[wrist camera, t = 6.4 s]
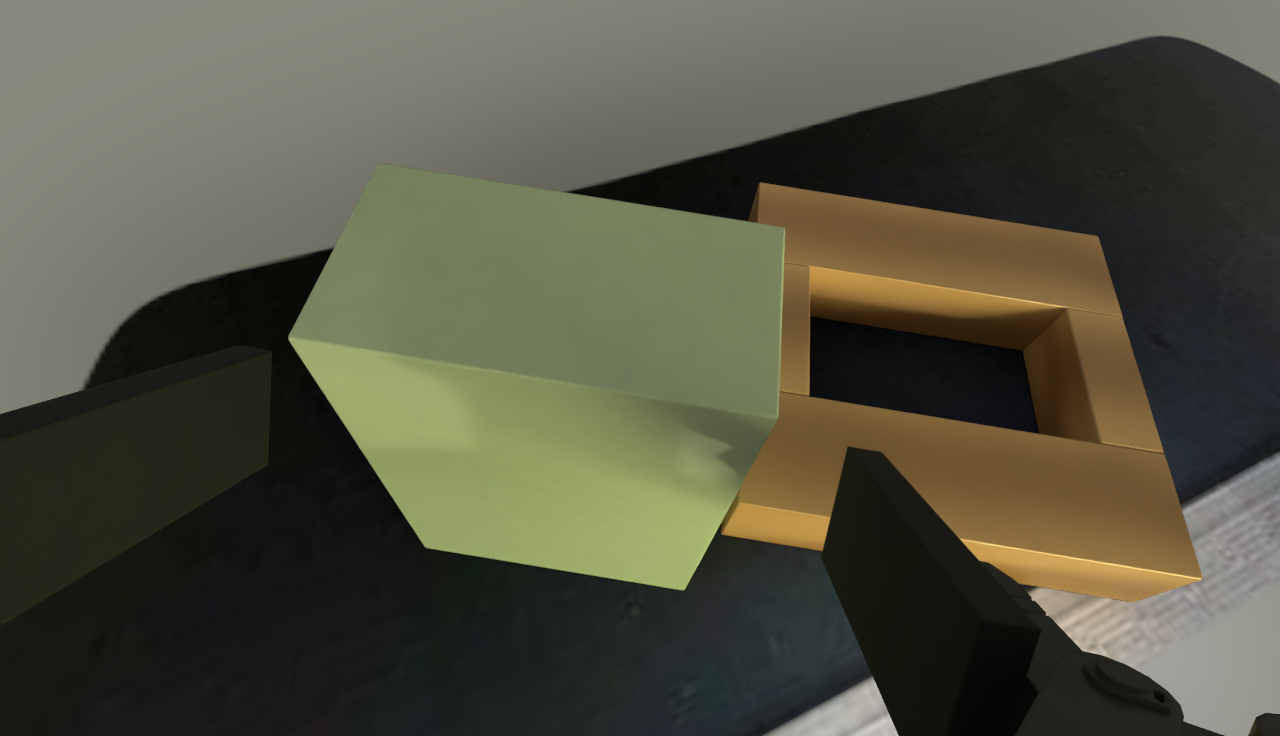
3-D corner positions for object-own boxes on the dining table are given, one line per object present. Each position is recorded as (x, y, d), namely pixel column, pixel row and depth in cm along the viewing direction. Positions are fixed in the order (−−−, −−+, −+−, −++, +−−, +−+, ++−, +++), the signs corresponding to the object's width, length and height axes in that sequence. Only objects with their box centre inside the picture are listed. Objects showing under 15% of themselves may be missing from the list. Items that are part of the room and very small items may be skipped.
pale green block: (684, 591, 21) (779, 418, 11) (424, 548, 22) (285, 338, 11) (697, 463, 24) (786, 226, 14) (463, 425, 24) (377, 160, 14)
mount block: (1133, 602, 22) (1204, 579, 20) (720, 534, 22) (738, 503, 20) (1054, 282, 30) (1098, 235, 27) (744, 232, 30) (759, 181, 27)
